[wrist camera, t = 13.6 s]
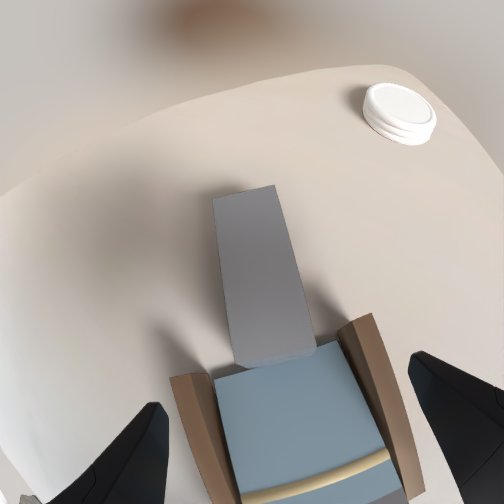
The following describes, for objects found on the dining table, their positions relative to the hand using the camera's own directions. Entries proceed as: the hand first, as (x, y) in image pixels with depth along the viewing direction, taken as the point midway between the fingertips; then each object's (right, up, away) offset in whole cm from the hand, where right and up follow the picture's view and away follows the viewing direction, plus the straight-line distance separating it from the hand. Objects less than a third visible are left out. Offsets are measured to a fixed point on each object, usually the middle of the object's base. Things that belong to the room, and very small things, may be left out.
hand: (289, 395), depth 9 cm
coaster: (+18, +22, +23) cm, 37 cm away
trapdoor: (+3, -11, +8) cm, 14 cm away
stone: (0, -2, +10) cm, 10 cm away
